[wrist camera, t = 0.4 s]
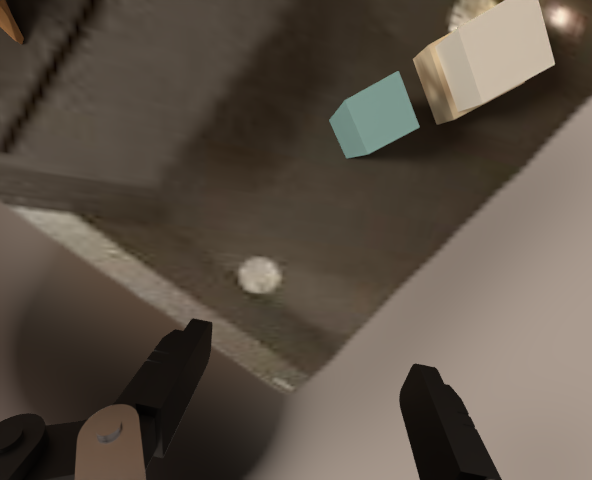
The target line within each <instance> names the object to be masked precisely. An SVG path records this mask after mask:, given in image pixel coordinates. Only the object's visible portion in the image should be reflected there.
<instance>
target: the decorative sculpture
mask: <svg viewBox="0 0 592 480" xmlns="http://www.w3.org/2000/svg"><path fill="white" fill-rule="evenodd" d="M0 27H1V28H2V29H3V30H4V31H5V32H6V33H7V34H8V35H10V36H11V37H12V38H13V39H14V40H15V41H17V42H19V43H20V44H22V43H23V39H24V38H23V36H22V34H21V32H20V30H19V28H18V26H17V24H16V22H15V20H14V18H13V16H12V14H11V12H10V10H9V7H8V5H7V2H6V0H0Z"/></svg>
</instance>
